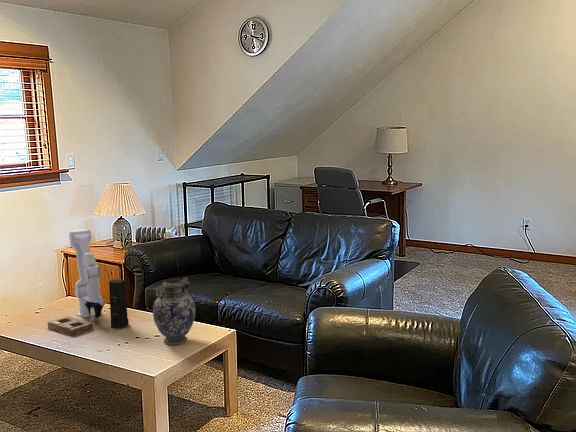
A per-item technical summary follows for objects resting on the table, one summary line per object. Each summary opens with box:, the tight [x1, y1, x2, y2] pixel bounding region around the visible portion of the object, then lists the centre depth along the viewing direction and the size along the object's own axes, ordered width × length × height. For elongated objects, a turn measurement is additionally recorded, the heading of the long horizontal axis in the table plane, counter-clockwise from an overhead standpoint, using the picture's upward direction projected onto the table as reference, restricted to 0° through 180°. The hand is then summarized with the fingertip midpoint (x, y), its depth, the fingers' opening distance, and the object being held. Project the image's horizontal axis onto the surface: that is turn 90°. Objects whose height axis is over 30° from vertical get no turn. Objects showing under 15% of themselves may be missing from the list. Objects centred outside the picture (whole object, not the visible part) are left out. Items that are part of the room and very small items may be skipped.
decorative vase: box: [152, 276, 196, 346], centre depth 252 cm, size 21×19×28 cm
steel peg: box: [90, 306, 101, 325], centre depth 280 cm, size 4×4×8 cm
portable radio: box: [108, 276, 129, 330], centre depth 273 cm, size 8×6×25 cm
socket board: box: [47, 315, 94, 337], centre depth 272 cm, size 11×20×3 cm, turn 55°
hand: (95, 316), depth 280 cm, fingers closed on steel peg, 4 cm apart
